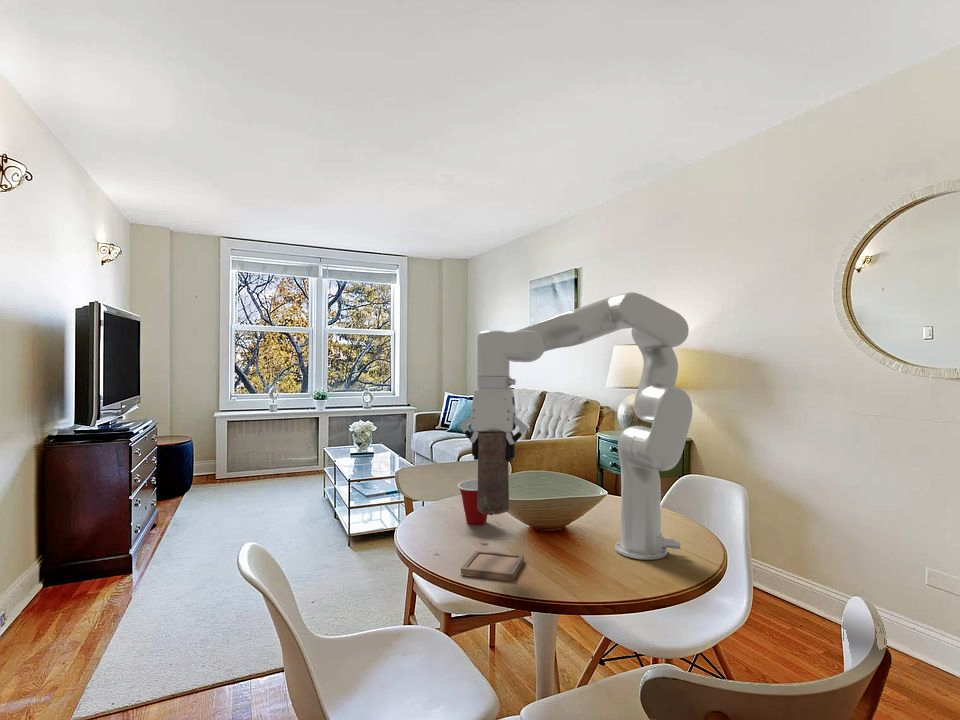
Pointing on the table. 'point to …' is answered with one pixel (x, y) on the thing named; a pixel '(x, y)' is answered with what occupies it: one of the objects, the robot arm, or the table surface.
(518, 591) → the table surface
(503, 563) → the picture frame
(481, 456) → the grey brown rough cylinder
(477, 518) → the plastic cup
